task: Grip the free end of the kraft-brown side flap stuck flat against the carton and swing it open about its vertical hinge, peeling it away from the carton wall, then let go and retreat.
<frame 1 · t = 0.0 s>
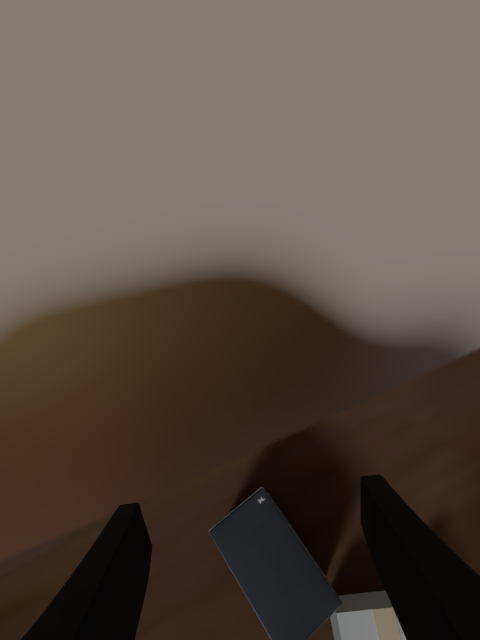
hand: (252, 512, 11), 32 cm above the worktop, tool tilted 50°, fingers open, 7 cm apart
small box: (271, 549, 38), on the worktop
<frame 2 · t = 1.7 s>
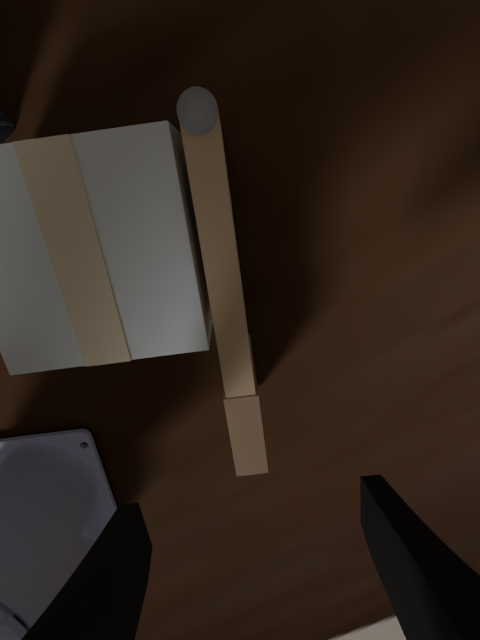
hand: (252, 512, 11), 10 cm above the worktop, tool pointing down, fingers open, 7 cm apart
flap: (229, 295, 16), point 3 cm above the worktop, hinge at 0.0°
carton: (126, 238, 18), on the worktop
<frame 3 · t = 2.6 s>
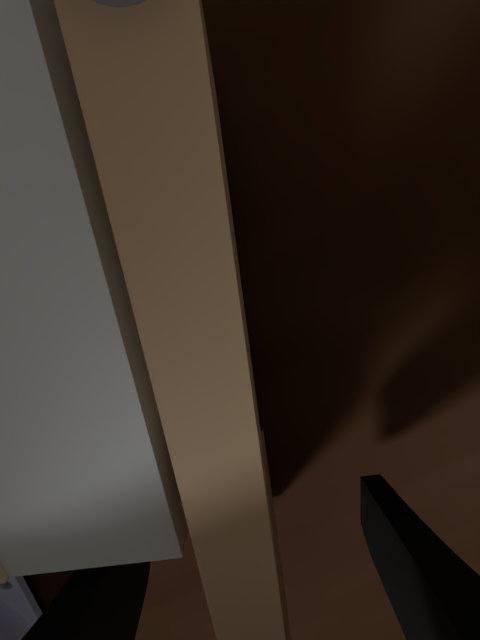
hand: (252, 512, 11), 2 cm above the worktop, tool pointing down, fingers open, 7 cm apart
flap: (229, 401, 8), point 3 cm above the worktop, hinge at 0.0°
carton: (49, 279, 10), on the worktop
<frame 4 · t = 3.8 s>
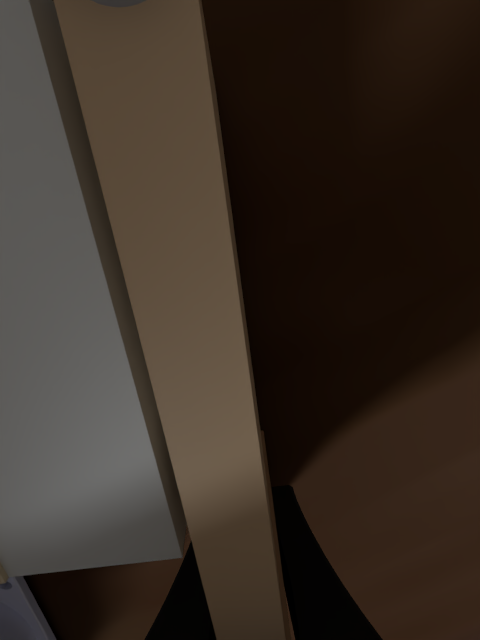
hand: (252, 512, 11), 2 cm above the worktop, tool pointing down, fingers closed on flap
flap: (229, 401, 8), point 3 cm above the worktop, hinge at 0.0°, touching gripper
carton: (49, 279, 10), on the worktop
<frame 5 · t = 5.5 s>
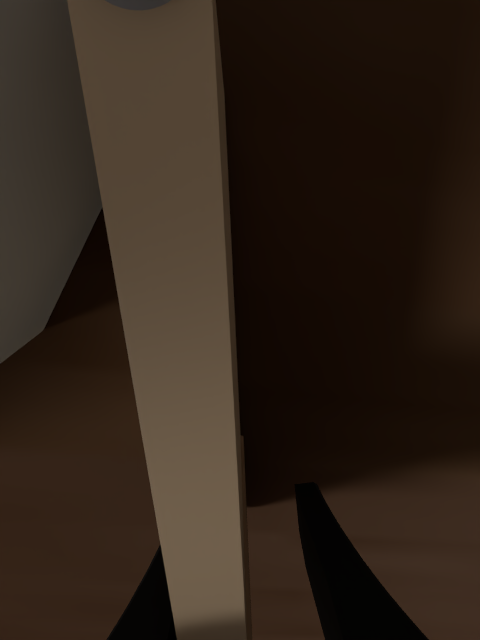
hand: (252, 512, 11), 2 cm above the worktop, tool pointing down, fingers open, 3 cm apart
flap: (211, 406, 8), point 3 cm above the worktop, hinge at 34.8°, touching gripper
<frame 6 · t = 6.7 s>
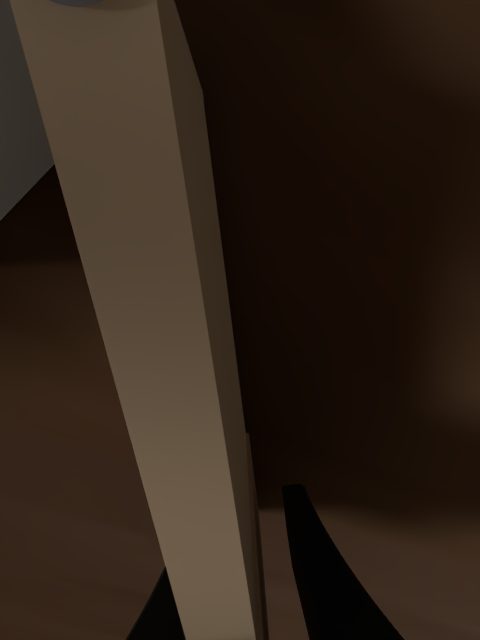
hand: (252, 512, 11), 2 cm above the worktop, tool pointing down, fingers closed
flap: (209, 404, 8), point 3 cm above the worktop, hinge at 56.9°, touching gripper
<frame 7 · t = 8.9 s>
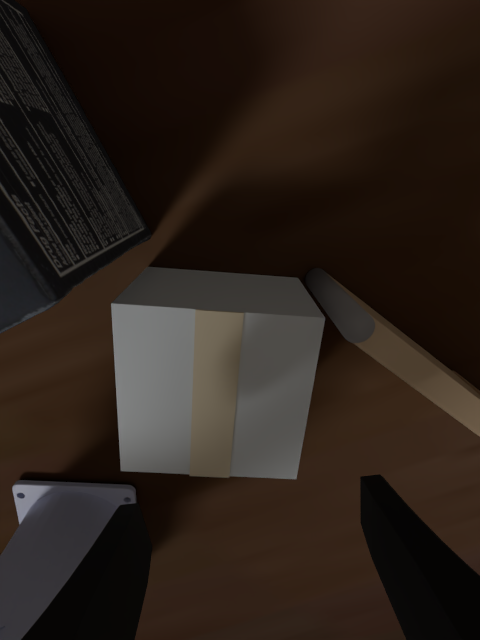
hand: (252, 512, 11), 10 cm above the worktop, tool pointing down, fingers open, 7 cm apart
flap: (433, 375, 17), point 3 cm above the worktop, hinge at 57.8°
small box: (42, 165, 17), on the worktop
carton: (219, 340, 20), on the worktop
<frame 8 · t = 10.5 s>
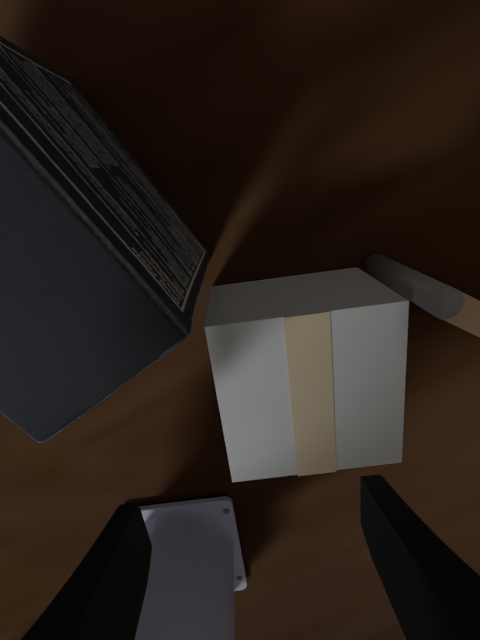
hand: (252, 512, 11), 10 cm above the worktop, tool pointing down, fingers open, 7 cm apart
small box: (102, 213, 18), on the worktop
carton: (289, 342, 21), on the worktop
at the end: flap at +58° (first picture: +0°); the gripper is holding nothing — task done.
